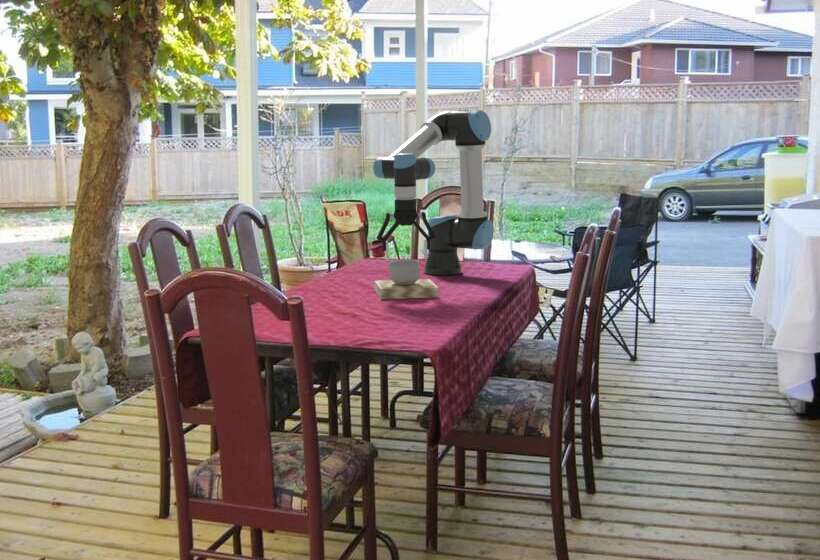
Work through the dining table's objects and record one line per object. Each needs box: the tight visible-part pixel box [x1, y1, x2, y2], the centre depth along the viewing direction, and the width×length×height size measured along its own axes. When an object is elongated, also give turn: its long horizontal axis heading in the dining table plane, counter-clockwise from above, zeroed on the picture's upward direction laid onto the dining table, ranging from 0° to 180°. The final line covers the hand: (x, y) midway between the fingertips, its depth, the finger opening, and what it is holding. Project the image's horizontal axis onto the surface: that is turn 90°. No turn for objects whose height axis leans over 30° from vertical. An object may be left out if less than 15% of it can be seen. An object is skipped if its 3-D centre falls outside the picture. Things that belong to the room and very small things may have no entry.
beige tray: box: [374, 278, 439, 300], centre depth 309 cm, size 20×18×4 cm
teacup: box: [388, 259, 421, 285], centre depth 308 cm, size 14×11×8 cm
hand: (406, 259), depth 308 cm, fingers open, 13 cm apart
